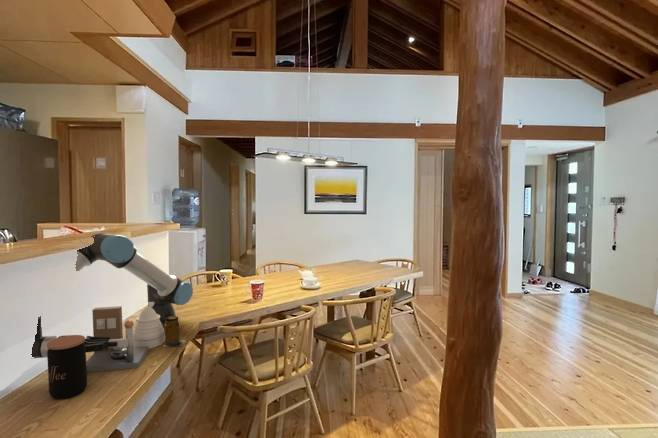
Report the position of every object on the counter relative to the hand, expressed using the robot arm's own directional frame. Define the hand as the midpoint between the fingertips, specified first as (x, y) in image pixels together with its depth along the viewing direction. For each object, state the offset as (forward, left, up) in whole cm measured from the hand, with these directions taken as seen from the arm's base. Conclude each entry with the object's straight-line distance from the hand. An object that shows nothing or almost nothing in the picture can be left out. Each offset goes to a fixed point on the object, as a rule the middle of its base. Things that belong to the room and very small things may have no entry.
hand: (127, 342), depth 147 cm
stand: (-8, -6, -10) cm, 15 cm away
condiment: (-22, +13, -11) cm, 28 cm away
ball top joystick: (-7, -3, -8) cm, 11 cm away
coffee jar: (+15, -14, -11) cm, 23 cm away
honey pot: (-25, +2, -11) cm, 27 cm away
